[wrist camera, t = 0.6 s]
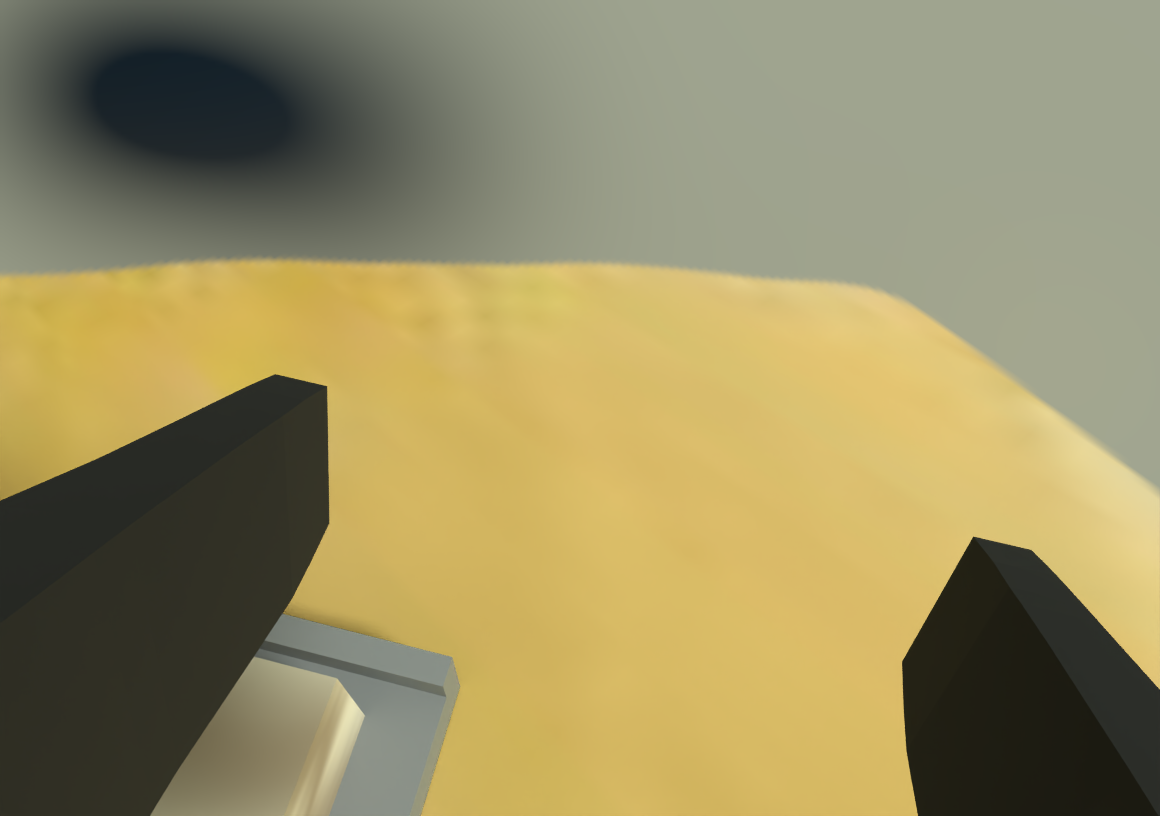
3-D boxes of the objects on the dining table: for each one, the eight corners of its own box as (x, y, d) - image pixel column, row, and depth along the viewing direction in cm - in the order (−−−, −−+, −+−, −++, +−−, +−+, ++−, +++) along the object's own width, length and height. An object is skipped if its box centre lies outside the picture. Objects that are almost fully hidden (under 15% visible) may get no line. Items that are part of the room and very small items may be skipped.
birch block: (306, 878, 21) (264, 868, 17) (156, 836, 21) (85, 818, 18) (365, 715, 23) (337, 678, 20) (227, 679, 23) (176, 636, 20)
